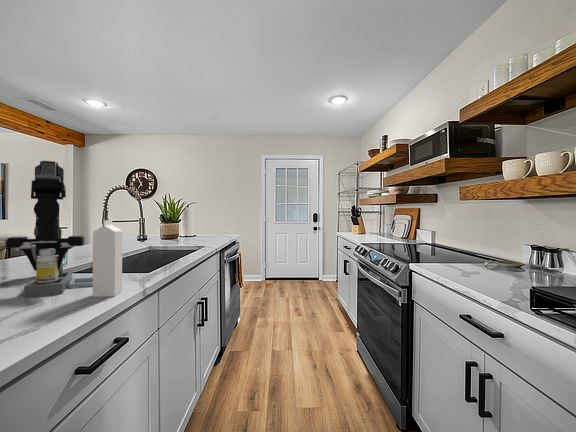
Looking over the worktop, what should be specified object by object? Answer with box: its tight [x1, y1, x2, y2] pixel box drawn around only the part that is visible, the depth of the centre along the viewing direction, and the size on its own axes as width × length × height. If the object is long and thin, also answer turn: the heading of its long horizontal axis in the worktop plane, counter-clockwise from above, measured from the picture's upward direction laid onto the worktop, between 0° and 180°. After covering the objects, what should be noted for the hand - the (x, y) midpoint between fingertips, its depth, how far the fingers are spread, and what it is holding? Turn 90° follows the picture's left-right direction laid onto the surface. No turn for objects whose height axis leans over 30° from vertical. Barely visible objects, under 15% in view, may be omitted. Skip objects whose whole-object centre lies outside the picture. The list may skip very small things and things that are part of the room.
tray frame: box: [67, 276, 93, 289], centre depth 108 cm, size 10×10×1 cm
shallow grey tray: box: [23, 262, 73, 298], centre depth 101 cm, size 20×9×8 cm, turn 27°
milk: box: [92, 219, 123, 298], centre depth 95 cm, size 6×6×22 cm
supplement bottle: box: [35, 249, 59, 283], centre depth 97 cm, size 5×5×10 cm
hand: (47, 269), depth 97 cm, fingers closed on supplement bottle, 5 cm apart
